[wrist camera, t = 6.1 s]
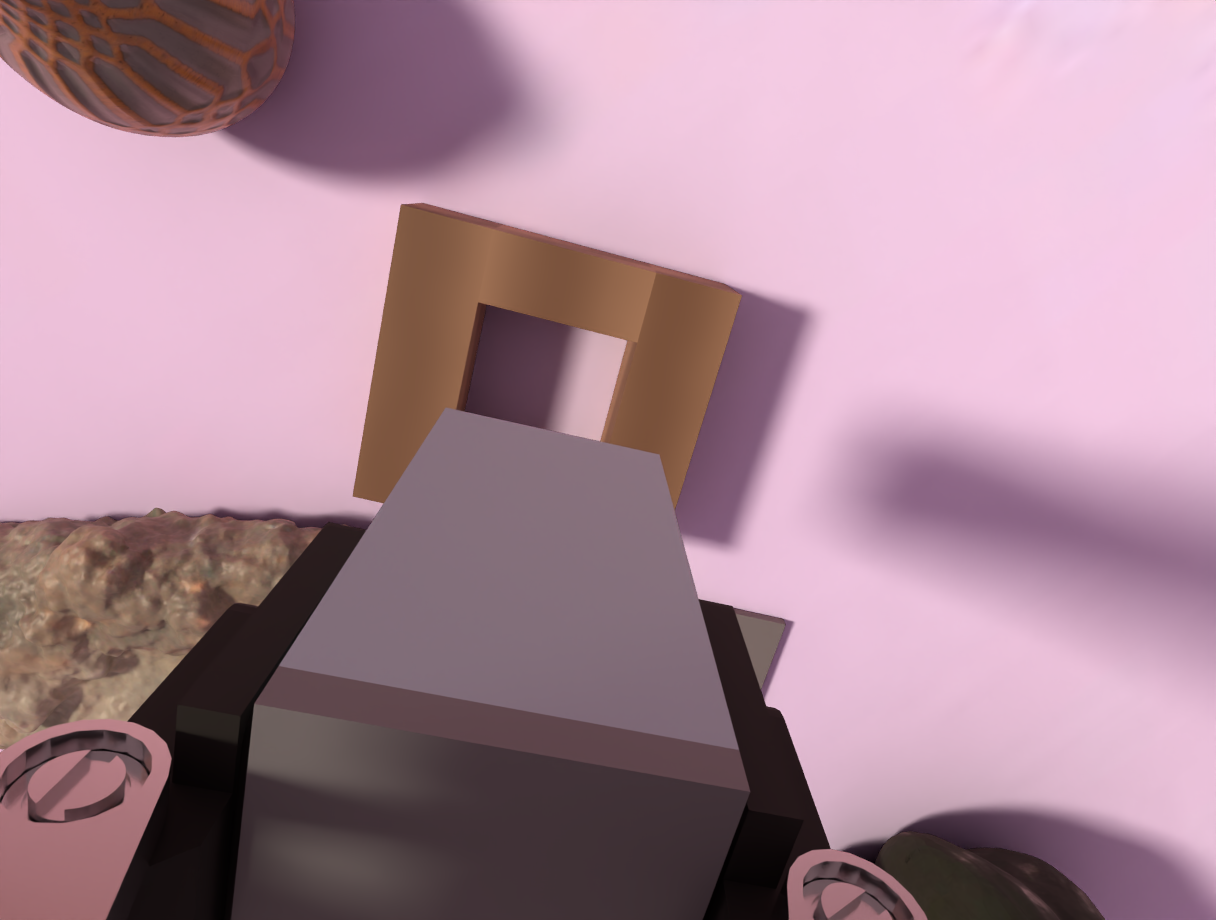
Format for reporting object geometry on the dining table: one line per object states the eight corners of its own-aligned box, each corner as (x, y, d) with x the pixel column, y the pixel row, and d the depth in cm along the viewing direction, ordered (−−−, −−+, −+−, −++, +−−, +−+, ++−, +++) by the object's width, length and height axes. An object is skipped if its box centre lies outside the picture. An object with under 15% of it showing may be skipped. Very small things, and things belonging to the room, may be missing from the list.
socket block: (724, 283, 25) (742, 295, 23) (650, 526, 28) (657, 564, 25) (422, 203, 24) (401, 204, 21) (376, 464, 27) (352, 496, 24)
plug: (659, 454, 14) (750, 791, 6) (609, 636, 16) (631, 1109, 8) (445, 406, 14) (254, 704, 6) (411, 597, 15) (217, 1053, 7)
